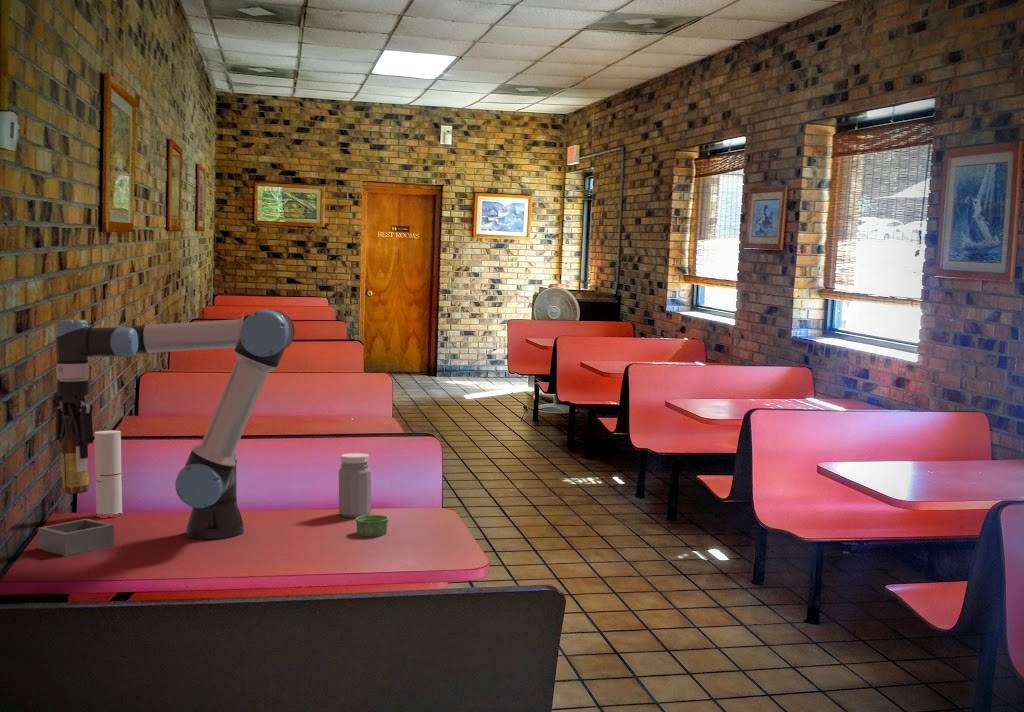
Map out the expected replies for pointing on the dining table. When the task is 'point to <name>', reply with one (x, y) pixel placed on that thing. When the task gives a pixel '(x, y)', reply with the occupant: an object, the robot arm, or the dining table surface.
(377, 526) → the ramekin
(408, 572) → the dining table surface
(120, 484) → the cylindrical container
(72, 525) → the grey open box
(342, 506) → the jar
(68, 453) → the sauce bottle
